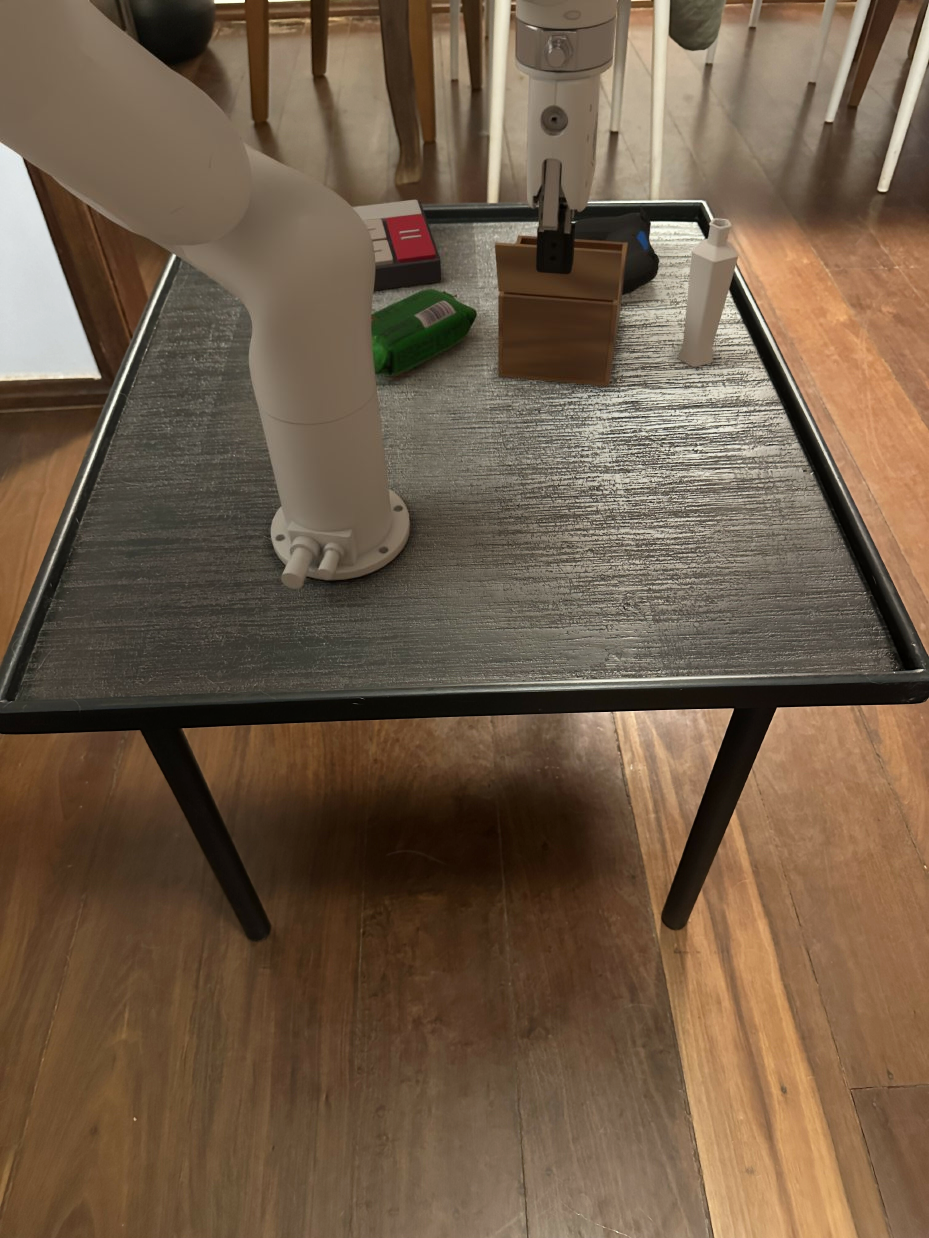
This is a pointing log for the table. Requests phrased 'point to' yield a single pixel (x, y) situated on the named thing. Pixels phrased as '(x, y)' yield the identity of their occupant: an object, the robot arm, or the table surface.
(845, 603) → the table surface
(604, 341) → the open wooden box
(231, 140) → the robot arm
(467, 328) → the snack package
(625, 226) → the gaming controller
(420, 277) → the calculator
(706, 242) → the perfume bottle
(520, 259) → the flap
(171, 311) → the table surface
